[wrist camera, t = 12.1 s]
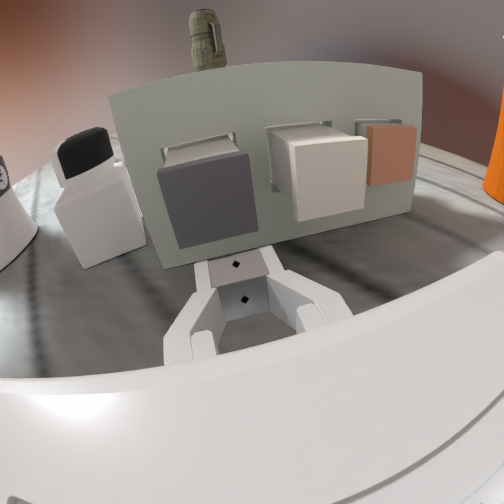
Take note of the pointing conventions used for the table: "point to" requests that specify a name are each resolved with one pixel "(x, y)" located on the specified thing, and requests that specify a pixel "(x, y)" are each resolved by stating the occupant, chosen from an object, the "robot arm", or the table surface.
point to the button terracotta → (388, 150)
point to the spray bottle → (497, 163)
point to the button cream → (317, 168)
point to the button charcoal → (208, 191)
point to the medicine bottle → (95, 199)
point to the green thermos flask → (206, 41)
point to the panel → (260, 138)
